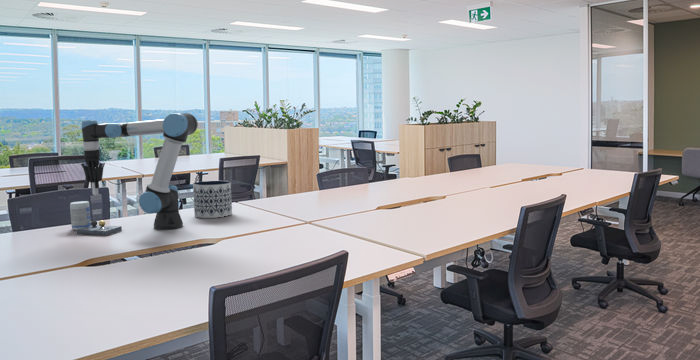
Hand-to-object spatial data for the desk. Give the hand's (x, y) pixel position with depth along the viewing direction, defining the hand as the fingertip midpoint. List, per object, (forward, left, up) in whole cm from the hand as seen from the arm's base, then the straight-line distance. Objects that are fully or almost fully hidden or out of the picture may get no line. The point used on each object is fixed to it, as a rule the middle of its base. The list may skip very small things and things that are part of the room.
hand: (95, 194), depth 281 cm
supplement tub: (+14, -4, -20) cm, 25 cm away
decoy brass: (-2, -1, -16) cm, 16 cm away
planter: (-38, -55, -20) cm, 69 cm away
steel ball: (-7, +4, -18) cm, 20 cm away
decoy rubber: (+3, -1, -16) cm, 16 cm away
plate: (-3, +3, -20) cm, 20 cm away
